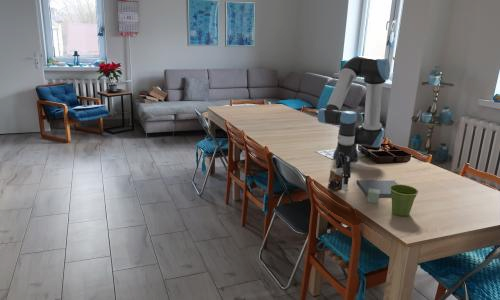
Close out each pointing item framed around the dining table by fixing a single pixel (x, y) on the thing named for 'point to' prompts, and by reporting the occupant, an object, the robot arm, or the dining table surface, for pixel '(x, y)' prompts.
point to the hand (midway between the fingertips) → (341, 184)
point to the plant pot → (402, 199)
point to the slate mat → (377, 186)
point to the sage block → (373, 195)
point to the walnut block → (333, 173)
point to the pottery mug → (334, 184)
